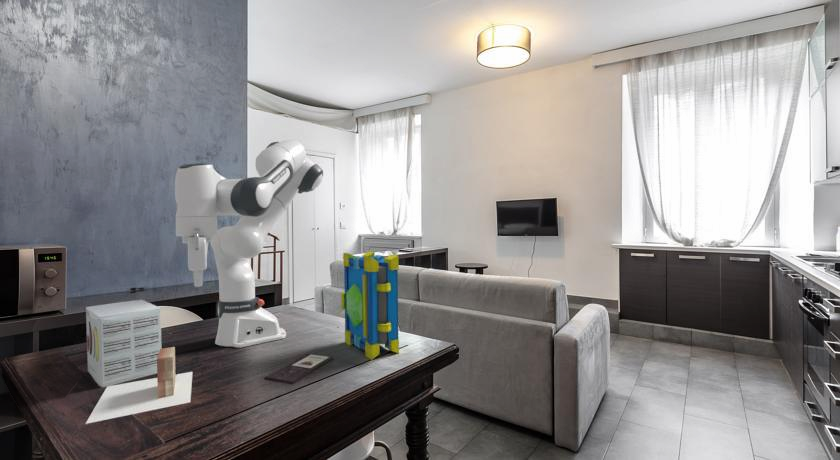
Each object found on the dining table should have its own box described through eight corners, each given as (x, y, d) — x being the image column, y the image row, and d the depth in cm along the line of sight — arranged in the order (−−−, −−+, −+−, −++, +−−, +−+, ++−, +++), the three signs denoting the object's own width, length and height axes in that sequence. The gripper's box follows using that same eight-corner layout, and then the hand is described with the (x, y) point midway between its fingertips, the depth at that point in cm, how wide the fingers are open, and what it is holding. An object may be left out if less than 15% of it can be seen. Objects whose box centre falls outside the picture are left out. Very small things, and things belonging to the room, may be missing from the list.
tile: (175, 382, 96) (174, 346, 96) (173, 395, 89) (172, 356, 89) (161, 385, 95) (160, 348, 94) (157, 398, 88) (156, 359, 87)
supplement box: (85, 373, 104) (83, 306, 104) (144, 359, 115) (142, 298, 114) (100, 391, 93) (98, 316, 93) (163, 373, 104) (162, 306, 103)
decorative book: (374, 335, 136) (373, 250, 136) (408, 353, 117) (407, 255, 116) (336, 342, 128) (334, 252, 128) (365, 363, 109) (364, 258, 108)
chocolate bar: (264, 376, 99) (307, 354, 116) (264, 380, 99) (307, 357, 116) (293, 381, 96) (333, 357, 113) (293, 385, 96) (333, 360, 113)
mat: (192, 373, 103) (192, 371, 103) (190, 404, 86) (190, 402, 86) (107, 388, 94) (107, 386, 94) (85, 426, 77) (85, 423, 77)
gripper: (212, 229, 87) (214, 290, 87) (211, 228, 105) (212, 278, 105) (179, 229, 84) (181, 293, 84) (183, 228, 102) (185, 280, 102)
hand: (198, 285), depth 95 cm, fingers open, 3 cm apart
